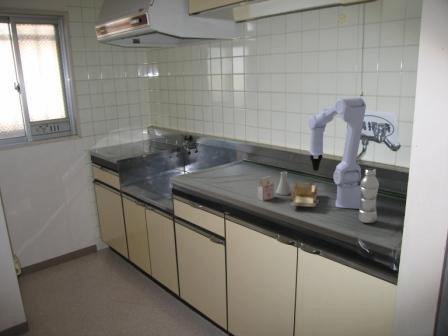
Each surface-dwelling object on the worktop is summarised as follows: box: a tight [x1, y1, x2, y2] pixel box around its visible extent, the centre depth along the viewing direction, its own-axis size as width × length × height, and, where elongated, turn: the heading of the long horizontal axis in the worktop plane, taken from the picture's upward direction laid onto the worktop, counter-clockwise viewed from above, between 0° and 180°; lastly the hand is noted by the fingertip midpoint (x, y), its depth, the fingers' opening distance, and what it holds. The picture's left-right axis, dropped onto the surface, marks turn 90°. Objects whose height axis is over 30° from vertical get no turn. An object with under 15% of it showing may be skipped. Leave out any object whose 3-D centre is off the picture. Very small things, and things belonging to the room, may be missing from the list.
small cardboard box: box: [289, 181, 318, 208], centre depth 163 cm, size 10×22×3 cm, turn 165°
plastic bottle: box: [357, 167, 380, 224], centre depth 138 cm, size 6×7×20 cm
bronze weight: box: [297, 182, 313, 197], centre depth 162 cm, size 6×6×4 cm
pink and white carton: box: [256, 175, 275, 202], centre depth 169 cm, size 4×7×10 cm, turn 125°
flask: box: [275, 171, 292, 196], centre depth 175 cm, size 7×7×10 cm
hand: (315, 170), depth 178 cm, fingers closed
